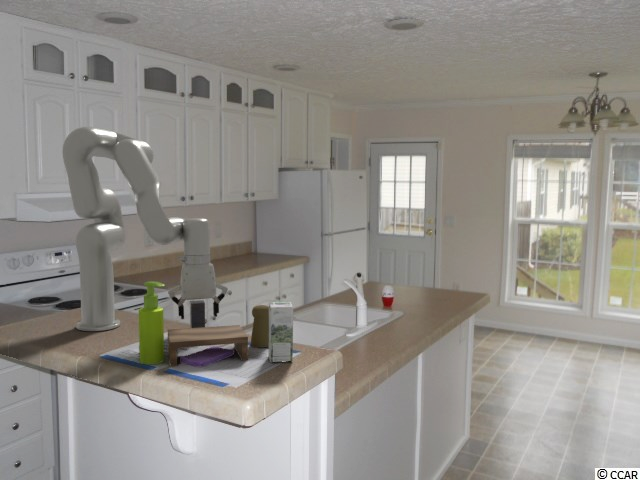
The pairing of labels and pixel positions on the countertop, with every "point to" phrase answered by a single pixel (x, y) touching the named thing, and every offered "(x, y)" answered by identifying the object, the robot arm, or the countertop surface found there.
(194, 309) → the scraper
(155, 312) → the soap dispenser
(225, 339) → the low shelf
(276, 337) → the syrup box
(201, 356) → the sponges
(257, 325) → the cork
